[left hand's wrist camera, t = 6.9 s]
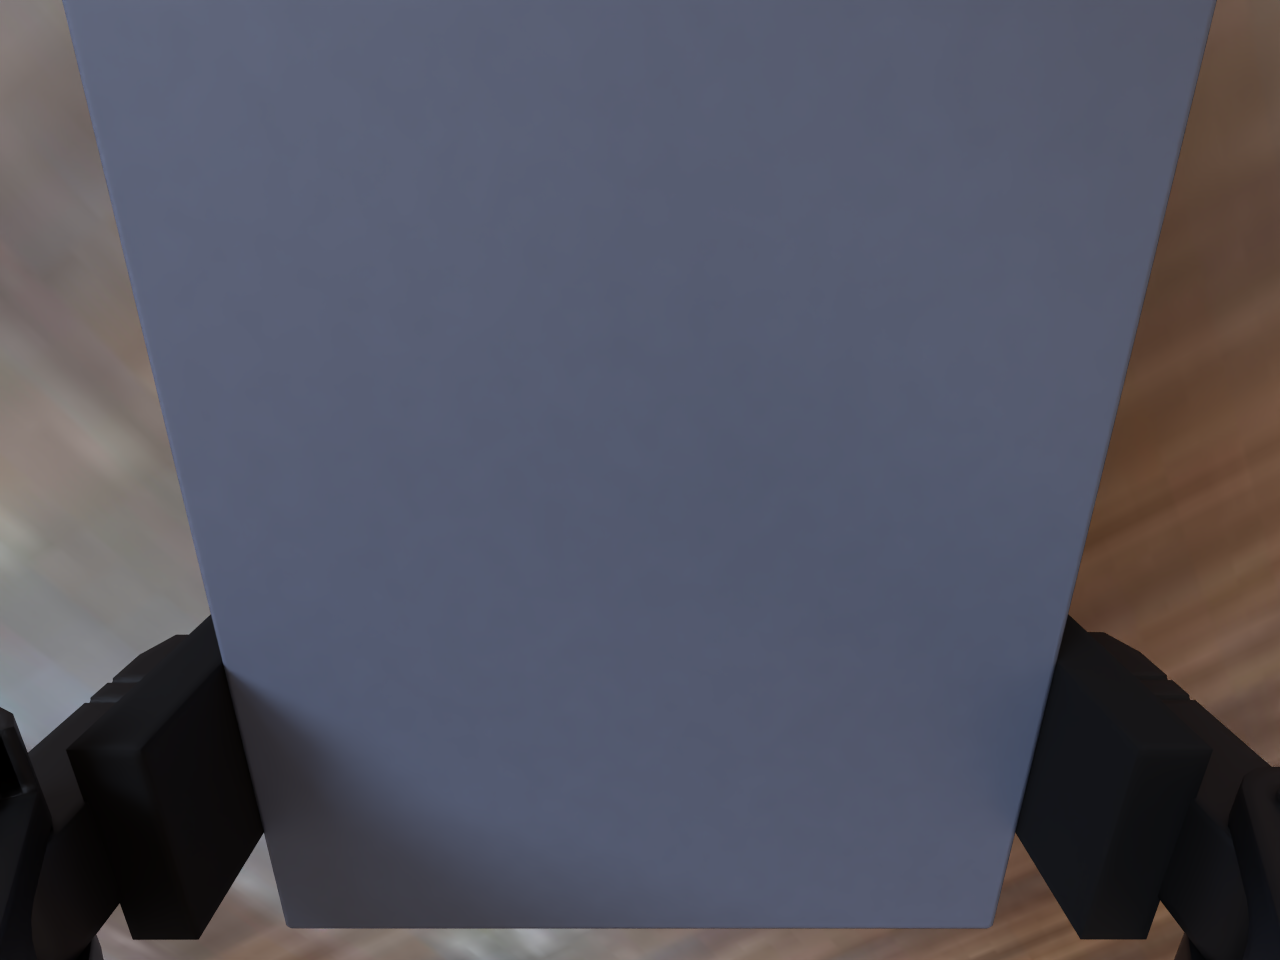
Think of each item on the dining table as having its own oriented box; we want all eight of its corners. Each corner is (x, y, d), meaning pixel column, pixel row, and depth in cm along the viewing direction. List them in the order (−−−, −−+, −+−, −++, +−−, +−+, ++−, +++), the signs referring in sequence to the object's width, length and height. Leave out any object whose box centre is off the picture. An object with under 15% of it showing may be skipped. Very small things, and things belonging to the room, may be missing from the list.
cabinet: (335, -508, 12) (-626, -2796, 3) (944, -508, 12) (1905, -2796, 3) (451, 596, 19) (284, 931, 10) (827, 596, 19) (994, 931, 10)
